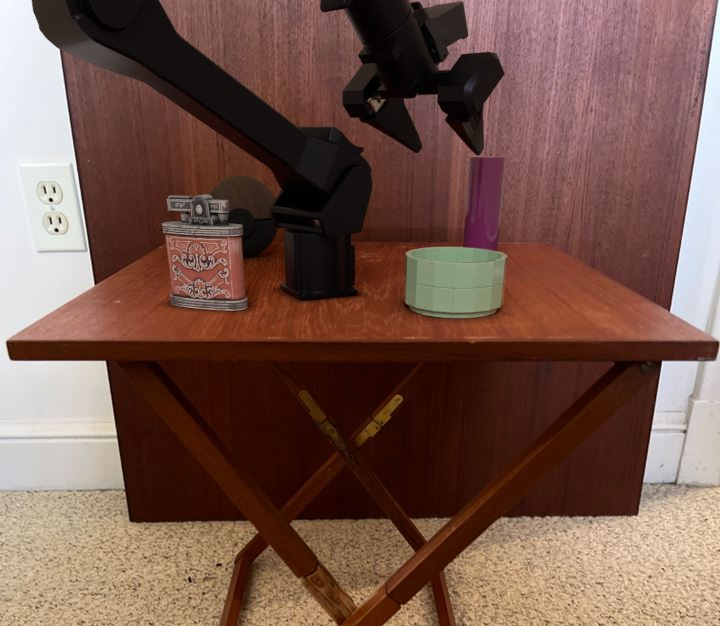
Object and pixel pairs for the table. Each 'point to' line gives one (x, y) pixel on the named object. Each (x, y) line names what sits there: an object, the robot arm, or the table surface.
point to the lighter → (205, 255)
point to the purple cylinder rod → (484, 201)
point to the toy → (248, 211)
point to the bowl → (454, 281)
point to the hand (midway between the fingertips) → (448, 151)
